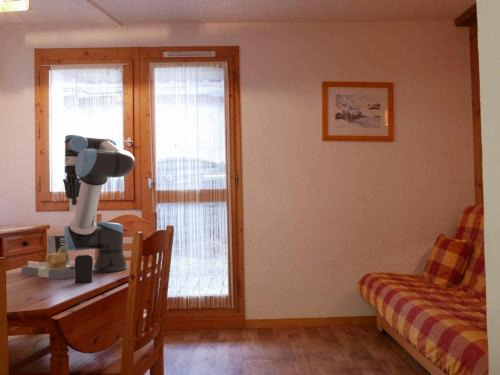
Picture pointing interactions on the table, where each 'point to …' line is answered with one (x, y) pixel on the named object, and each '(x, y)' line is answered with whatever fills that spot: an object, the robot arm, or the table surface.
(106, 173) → the robot arm
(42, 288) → the table surface
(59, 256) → the block
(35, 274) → the tunnel deck
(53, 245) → the coffee box
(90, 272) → the battery charger
